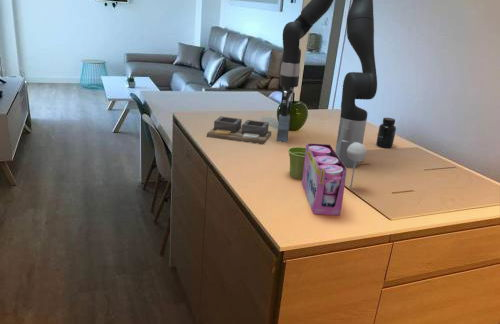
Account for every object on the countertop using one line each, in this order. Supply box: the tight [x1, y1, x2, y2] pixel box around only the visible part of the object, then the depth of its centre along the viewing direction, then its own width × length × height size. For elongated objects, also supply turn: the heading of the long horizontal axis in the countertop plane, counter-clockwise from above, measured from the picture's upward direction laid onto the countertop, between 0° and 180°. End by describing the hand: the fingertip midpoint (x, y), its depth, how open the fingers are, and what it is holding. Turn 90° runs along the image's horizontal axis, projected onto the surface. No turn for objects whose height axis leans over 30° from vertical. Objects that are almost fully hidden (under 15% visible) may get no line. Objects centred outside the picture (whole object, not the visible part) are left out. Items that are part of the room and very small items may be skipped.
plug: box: [276, 113, 291, 143], centre depth 185 cm, size 4×4×11 cm
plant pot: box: [287, 146, 306, 180], centre depth 148 cm, size 9×9×9 cm
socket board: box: [206, 116, 272, 145], centre depth 188 cm, size 16×24×6 cm, turn 77°
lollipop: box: [347, 143, 367, 189], centre depth 140 cm, size 6×6×15 cm
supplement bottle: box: [375, 117, 397, 149], centre depth 188 cm, size 7×7×12 cm
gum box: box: [301, 142, 347, 216], centre depth 130 cm, size 24×8×14 cm, turn 2°
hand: (285, 113), depth 184 cm, fingers open, 8 cm apart
